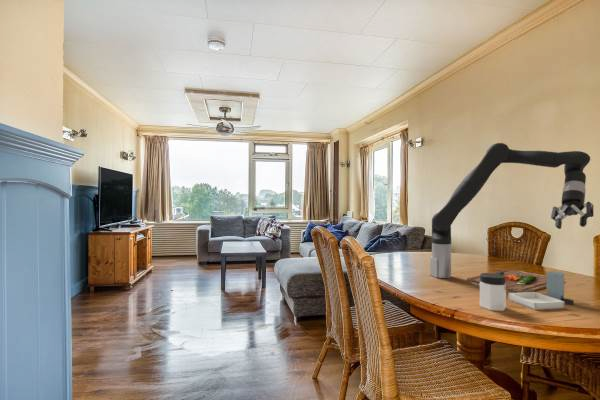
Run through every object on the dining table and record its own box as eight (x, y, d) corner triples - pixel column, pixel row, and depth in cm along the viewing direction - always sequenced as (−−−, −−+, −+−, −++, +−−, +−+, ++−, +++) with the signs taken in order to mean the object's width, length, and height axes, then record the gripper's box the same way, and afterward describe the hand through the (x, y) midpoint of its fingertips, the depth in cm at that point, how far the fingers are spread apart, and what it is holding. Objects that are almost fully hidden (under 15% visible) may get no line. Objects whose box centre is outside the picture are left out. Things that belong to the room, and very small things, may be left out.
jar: (482, 301, 126) (482, 271, 126) (507, 306, 121) (507, 274, 121) (477, 308, 119) (477, 275, 119) (503, 313, 114) (503, 279, 114)
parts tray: (534, 310, 117) (534, 303, 117) (508, 299, 129) (508, 293, 129) (564, 308, 119) (564, 301, 119) (535, 297, 131) (535, 291, 131)
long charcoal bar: (538, 297, 131) (538, 293, 131) (539, 296, 132) (539, 293, 132) (572, 304, 122) (572, 300, 122) (573, 303, 123) (573, 300, 123)
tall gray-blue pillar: (546, 300, 128) (546, 272, 127) (551, 298, 131) (551, 271, 130) (559, 303, 124) (559, 275, 124) (564, 300, 127) (564, 273, 127)
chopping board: (520, 296, 134) (520, 289, 134) (460, 282, 158) (460, 275, 158) (568, 282, 157) (568, 275, 157) (510, 271, 180) (510, 265, 180)
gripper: (550, 192, 144) (545, 224, 139) (588, 186, 131) (585, 221, 126) (560, 200, 146) (556, 232, 141) (599, 194, 133) (596, 229, 128)
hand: (570, 227), depth 133 cm, fingers open, 8 cm apart
